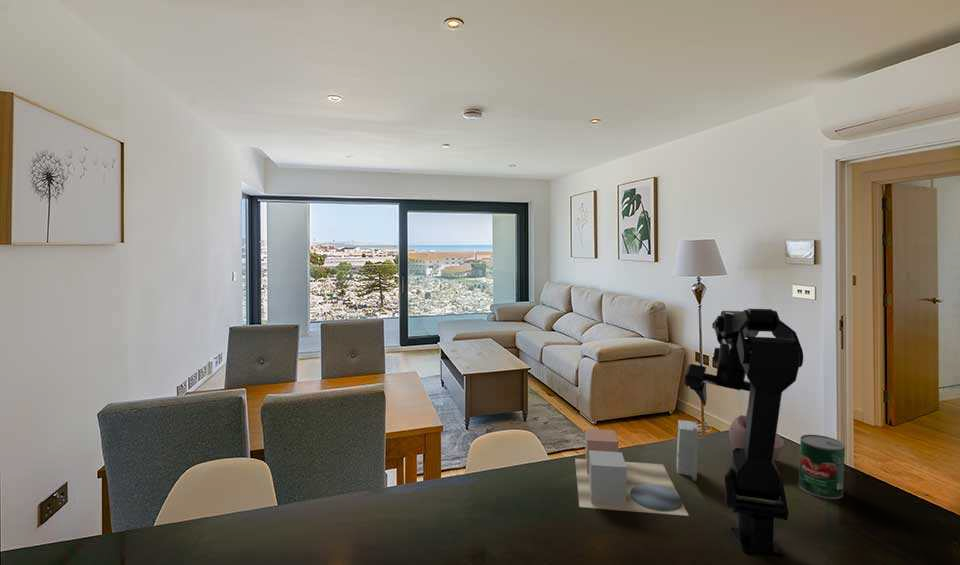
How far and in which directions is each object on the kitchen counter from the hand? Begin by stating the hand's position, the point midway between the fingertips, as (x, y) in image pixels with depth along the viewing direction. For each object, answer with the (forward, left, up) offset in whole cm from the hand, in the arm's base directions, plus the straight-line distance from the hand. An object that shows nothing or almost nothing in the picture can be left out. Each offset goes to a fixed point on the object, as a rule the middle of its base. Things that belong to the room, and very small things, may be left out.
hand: (725, 409), depth 110 cm
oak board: (-14, +26, -14) cm, 33 cm away
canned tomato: (-8, -17, -15) cm, 24 cm away
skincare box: (-5, +10, -15) cm, 18 cm away
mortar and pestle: (+5, -9, -15) cm, 18 cm away
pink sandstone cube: (-7, +30, -13) cm, 34 cm away
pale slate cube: (-20, +30, -13) cm, 38 cm away
